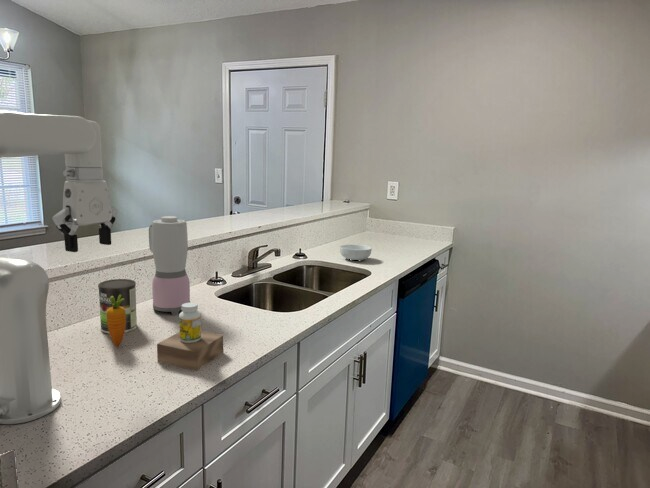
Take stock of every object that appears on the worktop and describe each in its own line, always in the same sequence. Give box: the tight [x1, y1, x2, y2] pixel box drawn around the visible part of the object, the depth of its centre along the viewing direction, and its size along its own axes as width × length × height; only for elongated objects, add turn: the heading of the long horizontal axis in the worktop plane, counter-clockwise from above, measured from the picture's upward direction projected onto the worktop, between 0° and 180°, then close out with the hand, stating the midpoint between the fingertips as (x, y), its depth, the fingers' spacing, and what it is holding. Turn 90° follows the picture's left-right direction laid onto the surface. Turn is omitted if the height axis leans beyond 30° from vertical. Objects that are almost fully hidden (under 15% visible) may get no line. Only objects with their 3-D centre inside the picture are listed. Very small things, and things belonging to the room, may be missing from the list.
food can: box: [97, 278, 138, 335], centre depth 137 cm, size 10×10×14 cm
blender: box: [148, 215, 191, 316], centre depth 154 cm, size 16×12×32 cm
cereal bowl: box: [339, 243, 372, 261], centre depth 243 cm, size 17×17×7 cm
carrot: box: [106, 295, 126, 348], centre depth 123 cm, size 5×5×15 cm
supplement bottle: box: [178, 302, 202, 343], centre depth 118 cm, size 5×5×10 cm
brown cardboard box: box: [156, 330, 224, 372], centre depth 120 cm, size 12×12×5 cm
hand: (89, 247), depth 108 cm, fingers open, 9 cm apart
